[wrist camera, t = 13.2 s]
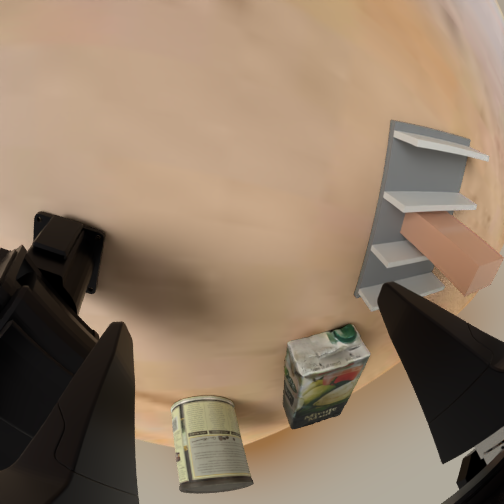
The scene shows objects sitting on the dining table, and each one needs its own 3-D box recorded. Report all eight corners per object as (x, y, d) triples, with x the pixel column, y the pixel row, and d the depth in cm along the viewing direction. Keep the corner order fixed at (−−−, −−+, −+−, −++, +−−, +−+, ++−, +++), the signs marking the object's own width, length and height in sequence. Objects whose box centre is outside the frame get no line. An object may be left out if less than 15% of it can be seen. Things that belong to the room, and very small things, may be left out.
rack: (353, 294, 30) (368, 316, 27) (390, 119, 19) (419, 129, 16) (425, 277, 32) (440, 294, 29) (466, 138, 21) (490, 149, 18)
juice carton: (282, 336, 31) (299, 379, 26) (356, 315, 33) (379, 352, 28) (279, 402, 43) (289, 432, 38) (331, 386, 44) (344, 414, 39)
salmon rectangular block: (399, 232, 25) (464, 296, 17) (407, 206, 23) (479, 266, 15) (430, 229, 26) (490, 284, 18) (437, 205, 24) (503, 257, 16)
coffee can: (237, 415, 42) (254, 487, 30) (179, 422, 40) (188, 494, 29) (232, 390, 36) (253, 480, 25) (162, 398, 34) (170, 488, 23)
